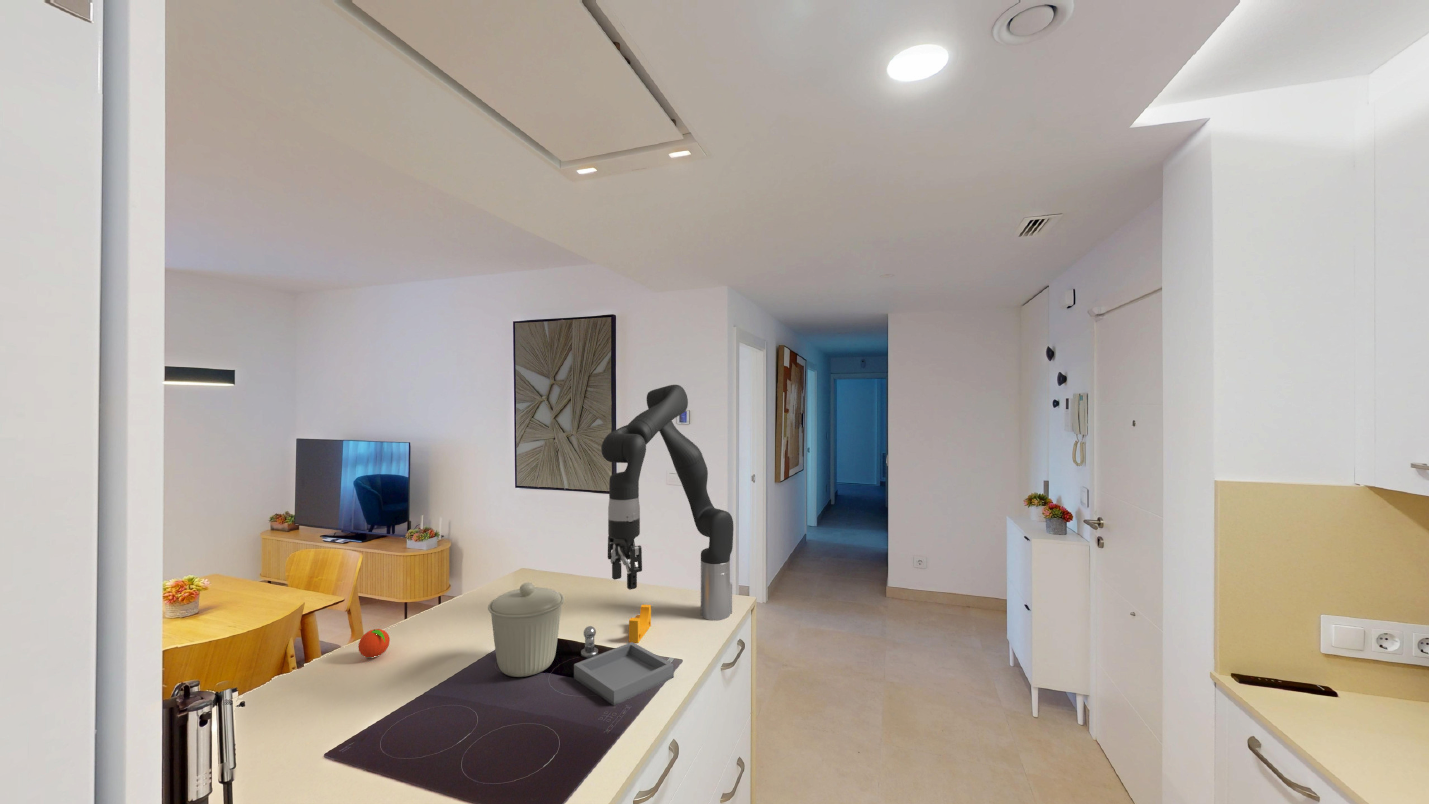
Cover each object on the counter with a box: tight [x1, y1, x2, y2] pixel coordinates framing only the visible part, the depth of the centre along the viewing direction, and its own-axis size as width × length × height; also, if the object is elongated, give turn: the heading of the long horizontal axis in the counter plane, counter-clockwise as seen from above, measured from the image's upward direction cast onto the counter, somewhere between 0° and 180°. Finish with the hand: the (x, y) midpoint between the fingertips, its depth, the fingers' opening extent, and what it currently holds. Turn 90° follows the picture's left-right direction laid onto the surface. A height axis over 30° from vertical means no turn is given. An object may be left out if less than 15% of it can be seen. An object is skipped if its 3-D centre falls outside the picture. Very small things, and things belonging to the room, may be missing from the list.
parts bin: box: [573, 642, 675, 706], centre depth 128 cm, size 17×17×4 cm
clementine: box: [358, 628, 391, 658], centre depth 139 cm, size 8×7×7 cm
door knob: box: [580, 625, 599, 659], centre depth 140 cm, size 4×4×7 cm
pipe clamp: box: [628, 604, 652, 644], centre depth 153 cm, size 12×4×6 cm, turn 169°
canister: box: [487, 582, 565, 678], centre depth 133 cm, size 18×18×21 cm
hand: (624, 583), depth 128 cm, fingers open, 8 cm apart
